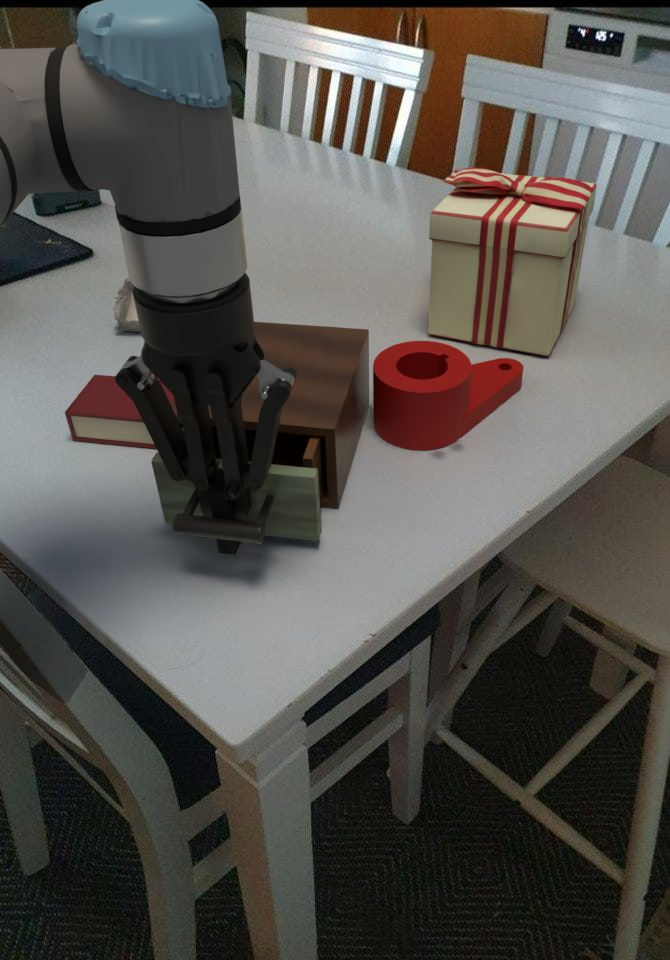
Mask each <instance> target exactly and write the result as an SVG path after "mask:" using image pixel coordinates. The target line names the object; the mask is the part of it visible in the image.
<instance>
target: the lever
mask: <svg viewBox="0 0 670 960" xmlns="http://www.w3.org/2000/svg"><path fill="white" fill-rule="evenodd" d="M374 358H375V359H374V360H373V362H372V363H373V364H372V384H373V385H372V407H373V408H372V413H373V415H372V416H373V417H372V418H373V419H372V420H373V421H372V422H373V428H374V430H375V432H376V433H377V435H378V436H379V437H380V438H381V439H382V440H384V441H385V442H386V443H389V444H391V445H393V446H395V447H397V448H400V449H405V450H412V451H432V450H438V449H442V448H445V447H448V446H450V445H453V444H454V443H456V442H457V441H459V440H460V439H461V438H462V437H464V436H465V435H466V434H467V433H469V432H470V431H471V430H472V429H473V428H475V427H476V426H477V425H479V423H481V422H482V421H484V419H485V418H487V417H488V416H489V415H490V414H492V413H493V412H494V411H495V410H497V409H498V408H499V407H500V406H502V405H503V404H504V403H505V402H507V401H508V400H509V399H510V398H511V397H513V396H514V395H515V394H516V393H517V392H519V391H520V390H521V388H522V383H523V376H524V375H523V374H524V365H523V364H522V362H521V361H519V360H517V359H515V358H509V357H500V358H495V359H489V360H486V361H482V362H481V361H480V362H476V363H472V361H471V359H470V357H468V356H467V355H466V353H465V352H464V351H461V350H460V349H459V348H457V347H454V346H452V345H450V344H446V343H443V342H439V341H432V340H411V341H409V340H408V341H404V342H399V343H396V344H393V345H390V346H388V347H386V348H385V349H383V350H382V351H380V352H379V353H378V354H377V356H376V357H374Z"/></svg>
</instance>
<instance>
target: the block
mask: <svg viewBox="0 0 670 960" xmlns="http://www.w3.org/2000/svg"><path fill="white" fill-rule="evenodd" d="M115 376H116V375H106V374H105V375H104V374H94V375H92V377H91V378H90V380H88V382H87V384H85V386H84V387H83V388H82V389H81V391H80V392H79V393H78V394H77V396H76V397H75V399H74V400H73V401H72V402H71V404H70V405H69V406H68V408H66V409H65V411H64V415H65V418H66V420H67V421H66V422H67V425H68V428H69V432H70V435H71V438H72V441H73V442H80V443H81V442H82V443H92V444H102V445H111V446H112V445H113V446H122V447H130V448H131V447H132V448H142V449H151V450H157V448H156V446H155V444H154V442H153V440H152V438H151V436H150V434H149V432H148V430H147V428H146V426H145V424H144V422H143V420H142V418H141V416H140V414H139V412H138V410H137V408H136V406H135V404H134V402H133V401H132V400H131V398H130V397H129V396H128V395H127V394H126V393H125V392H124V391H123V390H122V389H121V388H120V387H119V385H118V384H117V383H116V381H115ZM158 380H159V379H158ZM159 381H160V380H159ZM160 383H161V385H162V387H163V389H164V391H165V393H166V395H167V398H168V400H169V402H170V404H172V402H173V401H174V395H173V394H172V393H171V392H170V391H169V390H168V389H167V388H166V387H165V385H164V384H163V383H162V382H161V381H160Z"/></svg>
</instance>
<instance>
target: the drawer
mask: <svg viewBox="0 0 670 960" xmlns="http://www.w3.org/2000/svg"><path fill="white" fill-rule="evenodd" d="M182 430H183V428H182ZM244 430H245V437H246V445H247V452H248V460H249V463H251V460H252V454H253V448H254V442H255V437H256V431H257V430H248V429H244ZM183 432H184V431H183ZM212 433H213V439H214V445H215V452H216V458H217V463H218V461H219V459H220V463H219V465H218V468H217V470H216V474H217V473H218V471H223V465H222V459H221V453H220V446H219V440H218V434H217V428H216V427H215V426H212ZM150 462H151V466H152V471H153V476H154V480H155V484H156V488H157V493H158V498H159V502H160V506H161V512H162V515H163V520H164V523H165V525H172V530H173V533H174V534H175V535H182V536H188V537H189V536H190V537H199V538H205V539H206V538H207V539H214V540H216V539H223V540H232V541H240V542H241V543H250V544H258V545H261V544H263V542H264V540H265V536H271V537H278V538H288V539H294V540H295V539H296V540H305V541H311V542H312V541H313V542H319V541H320V538H321V535H322V519H321V518H322V517H321V507H320V502H321V499H322V496H323V492H324V489H325V486H326V483H327V466H326V447H325V437H324V436H313V435H302V434H291V433H280V432H278V433H277V438H276V443H275V448H274V454H273V459H272V464H271V467H270V469H269V472H268V475H267V477H266V480H265V482H264V484H263V486H262V487H261V488H260V489H254V488H252V487H250V492H251V499H252V506H251V508H250V511H249V513H248V516H247V518H246V520H244V521H239V520H230V519H221V518H213V517H206V516H204V515H203V513H202V512H201V507H200V502H199V497H198V491H197V488H196V487H195V486H194V484H193V483H192V482H190V481H188V480H185V479H184V480H183V481H175V480H173V479H172V478H171V477H170V475H169V473H168V471H167V469H166V467H165V465H164V463H163V461H162V459H161V457H160V455H159V453H158V452H156V453H155V454H154V456H153V457H152V459H151V461H150Z"/></svg>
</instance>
